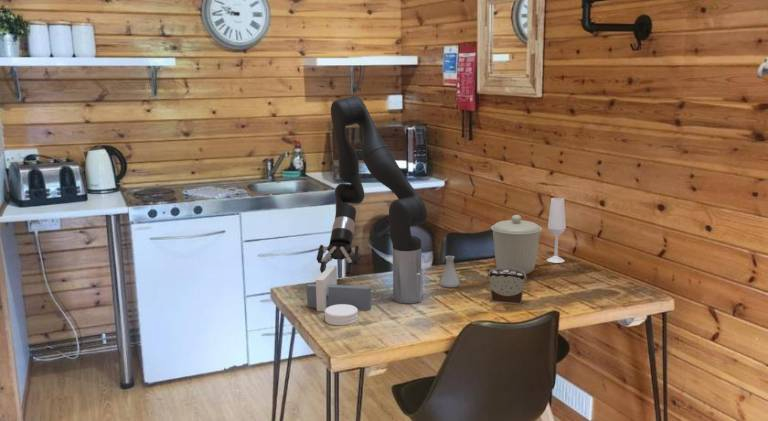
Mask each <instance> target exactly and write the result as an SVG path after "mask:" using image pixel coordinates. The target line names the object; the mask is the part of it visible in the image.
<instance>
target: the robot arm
mask: <svg viewBox="0 0 768 421" xmlns="http://www.w3.org/2000/svg"><path fill="white" fill-rule="evenodd" d="M330 117H331V118H330V119H331V124H332V129H333V134H334V138H335V144H336V149H337V155H338V156H337V158H338V176H339V179H340V180H341V181H344V182H347V183H339V184H338V185H336V187H335V190H334V197H335V204H336V209H335V216H334V221H333V223H332V224H333V225H332V228H331V234H330V239H329V244H328V246H324V245H323V244H320V245H319V247H318V251H317V255H316V261H317V264H320V268H319V271H320V274H322V273H323V272H324V271H325V269H326V268H327V264H328V263H329V262H331V261H333V260H341V261H342V260H344V259H345V261H346V262H347V265H346V272H345V275H346V276H347V277H348V276H350V275H351V274H352V271H353V267H354V266H355V265H356V266H358V265H359V264H360V263H359V262H360V255H361V254H360V250H361V249H360V248H359V246H358V245H356V246H354V247H352V244H353V243H352V242H353V237H354V233H355V221H356V215H357V210H356V208H355V207H354V206H353V204H354V205H355V204H356V205H359V204H362V202H363V201H364V199H365V190H364V186H363V184H362V180H361V178H360V177H361V176H360V166H359V156H358V152H357V151H356V149H355V148H354V146H353V145H352V144H351V141H349V139H348V137H347V133H346V127H349V126H353V125H358V126H359V128H360V130H361V133H362V145H361V159H362V160H363V161H362V162H363V163H364V164H365V166H366V169H367V170H368V172H369V174H370V175H371V176H372V177H373V178H374V179H375V180H376V181H378V182H379V183H380V184H382V185H383V186H385V187H386V188H387V189H389V190H390V191H391V192H392V193H393V194H394V195H395V196H396V197H397V199H395V200H393V201H392V202H391V203H390V205H389V208H388V223H389V224H388V225H389V226H388V227H389V237H390V240H391V244H392V297H393V299H392V300H393V301H395V302H396V303H400V304H414V303H421V301H422V299H423V296H424V294H423V293H424V290H423V286H424V284H423V283H424V282H423V280H424V279H423V277H424V276H423V274H424V273H423V272H424V270H423V268H422V239H421V238H420V237H418V236H415V235H412V232H411V227H416V226H419V225H422V224H423V223H424V222H426V220H427V217H428V212H427V207H426V205H425V203H424V200H423V199H422V198H421V196H420V195H419V194H418V193H417V191H416V190H415V188H414V187H413V186H412V184H411V183H410V182H409V180H408V179H407V177H406V176H405V174H404V173H403V171H402V170H401V167H400V166H399V164H398V162H397V161H396V159H395V157H394V155H393V154H392V152H391V150H390V148H389V147H388V146H387V144H386V142H385V141H384V139H383V138H382V136H381V134H380V133H379V131H378V129H377V127H376V125H375V123H374V120H373V119H372V116H371V114H370V112H369V110H368V107H367V106H366V104H365V102H364V100H363V99H362V98H361V97H359V96H357V95H354V96H353V95H352V96H349V97H344V98H339V99H337V100H336V99H335V100H334V101H333V102H332V103H331V104H330ZM350 204H351V205H350ZM325 253H326V254H325ZM351 253H353V254H354V255H353V259H351V257H350V255H351ZM324 254H325V256H324Z"/></svg>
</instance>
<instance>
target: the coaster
mask: <svg viewBox="0 0 768 421" xmlns="http://www.w3.org/2000/svg"><path fill="white" fill-rule="evenodd" d="M358 312H359V310H358V309H357V308H356V307H355V306H352V305H347V304H338V305H332V306H329V307H328V308H326V309H325V311H324V321H325V322H326V323H327V324H329V325H332V326H348V325H352V324H355V323H357V321H358V320H359V313H358Z"/></svg>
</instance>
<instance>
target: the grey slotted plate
mask: <svg viewBox="0 0 768 421" xmlns="http://www.w3.org/2000/svg"><path fill="white" fill-rule="evenodd" d="M371 289H372V288H371V286H369V285H367V286H366V285H350V284H349V285H346V284H345V285H344V284H337V285H330V286H329V287H328V292H329V296H327V297H326V303H327V308H328V307H329V306H332V305H338V304H347V305H352V306H355V307H356V308H357V309H358V311H370V310H371V308H372V297H371V296H372V294H371V293H372V290H371ZM306 304H307V308H314V309H315V308H316V309H317V302H316V283H308V284H307V285H306Z"/></svg>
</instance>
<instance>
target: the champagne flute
mask: <svg viewBox="0 0 768 421" xmlns="http://www.w3.org/2000/svg"><path fill="white" fill-rule="evenodd" d="M550 199H551V200H550V205H549V207H550V208H549V214H548V222H547V229H548V232H550V233H551V234H552V235H553V236H554V251H553V252H554V253H553V254H554V255H553V256H550V257H549V258H546V261H547V262H549V263H555V264H556V263H557V264H559V263H564V262H565V259H563V257H560V256H559V255H558V252H559V251H558V250H559V248H558V247H559V244H558V243H559V236H560V235H562V234H563V233H564V232H565V231H566V228H567V223H566V221H567V220H566V208H565V206H566V205H565V198H563V197H552V198H550Z"/></svg>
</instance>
